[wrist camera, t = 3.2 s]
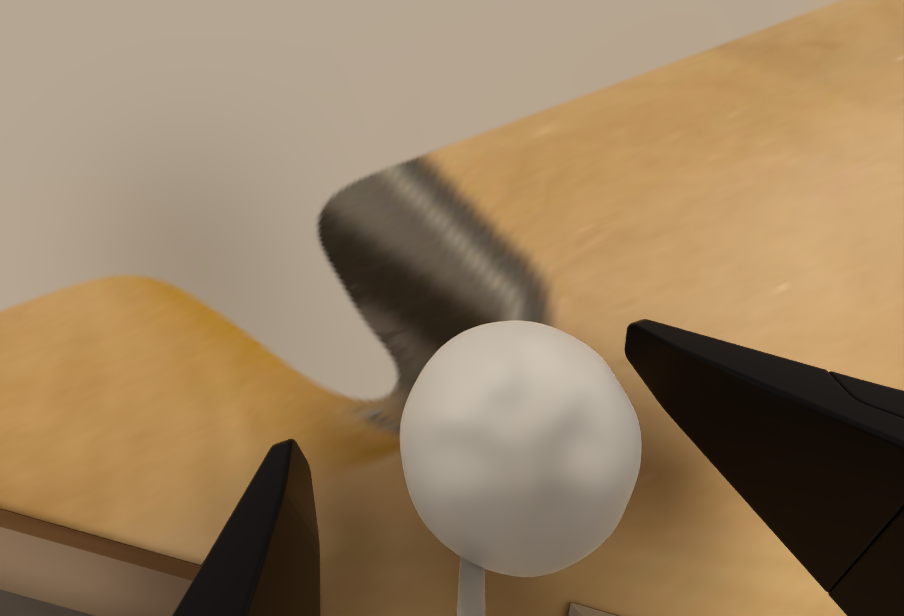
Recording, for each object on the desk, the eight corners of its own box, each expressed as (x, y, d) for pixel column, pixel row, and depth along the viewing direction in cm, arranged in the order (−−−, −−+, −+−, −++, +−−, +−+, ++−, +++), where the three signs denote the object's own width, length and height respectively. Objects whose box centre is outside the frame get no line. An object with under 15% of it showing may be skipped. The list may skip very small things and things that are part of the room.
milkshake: (371, 471, 14) (298, 608, 5) (437, 342, 16) (484, 244, 6) (482, 529, 14) (636, 784, 5) (538, 394, 16) (746, 377, 6)
